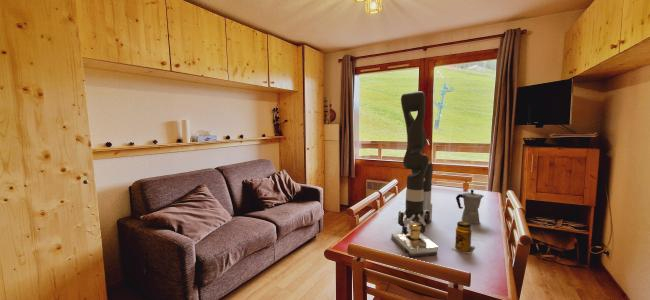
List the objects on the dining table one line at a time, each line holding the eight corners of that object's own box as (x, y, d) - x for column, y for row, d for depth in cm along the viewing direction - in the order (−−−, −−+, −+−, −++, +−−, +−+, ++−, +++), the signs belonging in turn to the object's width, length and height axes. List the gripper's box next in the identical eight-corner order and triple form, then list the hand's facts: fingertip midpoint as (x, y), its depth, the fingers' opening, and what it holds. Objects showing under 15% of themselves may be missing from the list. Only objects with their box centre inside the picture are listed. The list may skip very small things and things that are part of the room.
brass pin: (416, 243, 127) (417, 222, 125) (422, 248, 121) (423, 226, 120) (406, 244, 126) (406, 223, 125) (411, 249, 121) (412, 227, 119)
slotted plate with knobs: (414, 235, 134) (414, 225, 134) (437, 255, 115) (438, 243, 114) (391, 237, 132) (391, 226, 132) (411, 258, 113) (411, 245, 112)
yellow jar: (452, 249, 120) (453, 223, 119) (457, 242, 127) (458, 217, 125) (470, 254, 116) (471, 227, 114) (474, 247, 122) (476, 221, 121)
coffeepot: (477, 217, 158) (478, 187, 156) (487, 224, 148) (489, 191, 146) (450, 218, 157) (452, 187, 155) (459, 224, 148) (461, 192, 146)
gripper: (424, 195, 126) (423, 229, 128) (395, 196, 123) (394, 231, 125) (434, 199, 118) (432, 235, 120) (403, 201, 116) (402, 238, 118)
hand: (413, 233), depth 123 cm, fingers open, 8 cm apart
